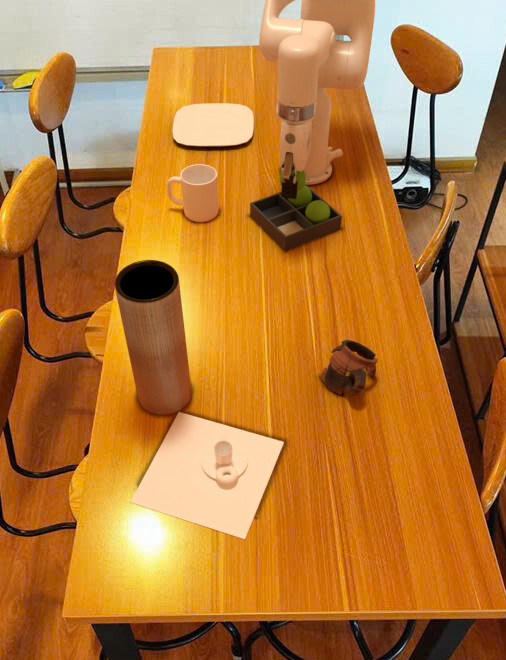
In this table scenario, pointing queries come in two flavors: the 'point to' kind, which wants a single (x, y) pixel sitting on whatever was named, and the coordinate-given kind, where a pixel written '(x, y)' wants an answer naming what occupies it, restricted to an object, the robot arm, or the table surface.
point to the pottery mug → (349, 368)
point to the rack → (291, 220)
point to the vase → (155, 334)
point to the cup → (197, 192)
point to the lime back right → (317, 212)
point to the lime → (300, 178)
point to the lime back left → (301, 197)
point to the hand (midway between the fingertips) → (292, 188)
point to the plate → (213, 125)
